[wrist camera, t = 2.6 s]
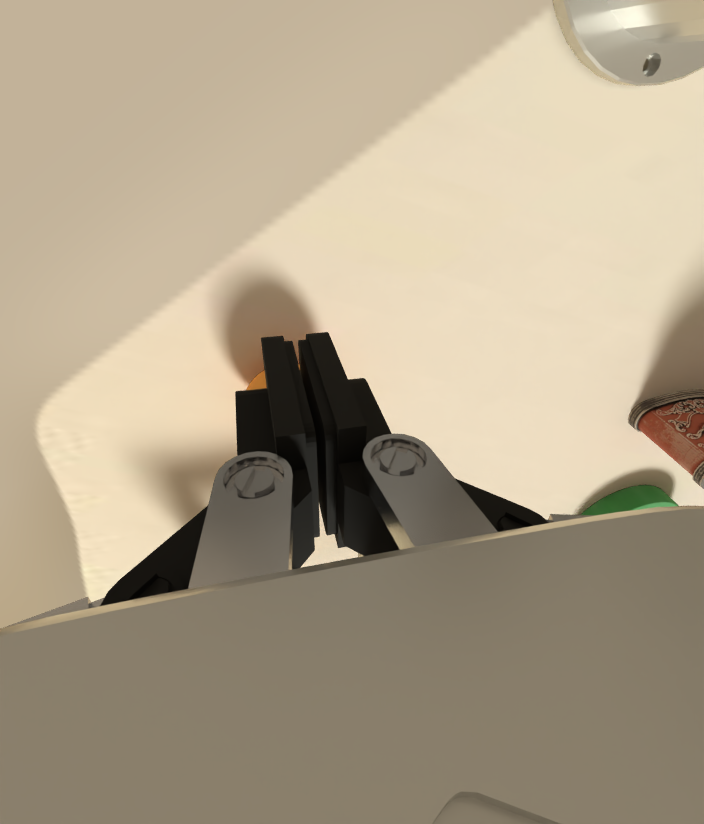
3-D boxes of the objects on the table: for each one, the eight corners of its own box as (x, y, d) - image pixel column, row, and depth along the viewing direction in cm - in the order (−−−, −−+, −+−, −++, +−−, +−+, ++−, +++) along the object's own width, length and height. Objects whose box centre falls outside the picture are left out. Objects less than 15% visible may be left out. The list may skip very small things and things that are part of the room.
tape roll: (681, 500, 48) (702, 519, 46) (600, 561, 52) (615, 582, 50) (629, 469, 42) (650, 489, 40) (543, 540, 47) (558, 562, 45)
